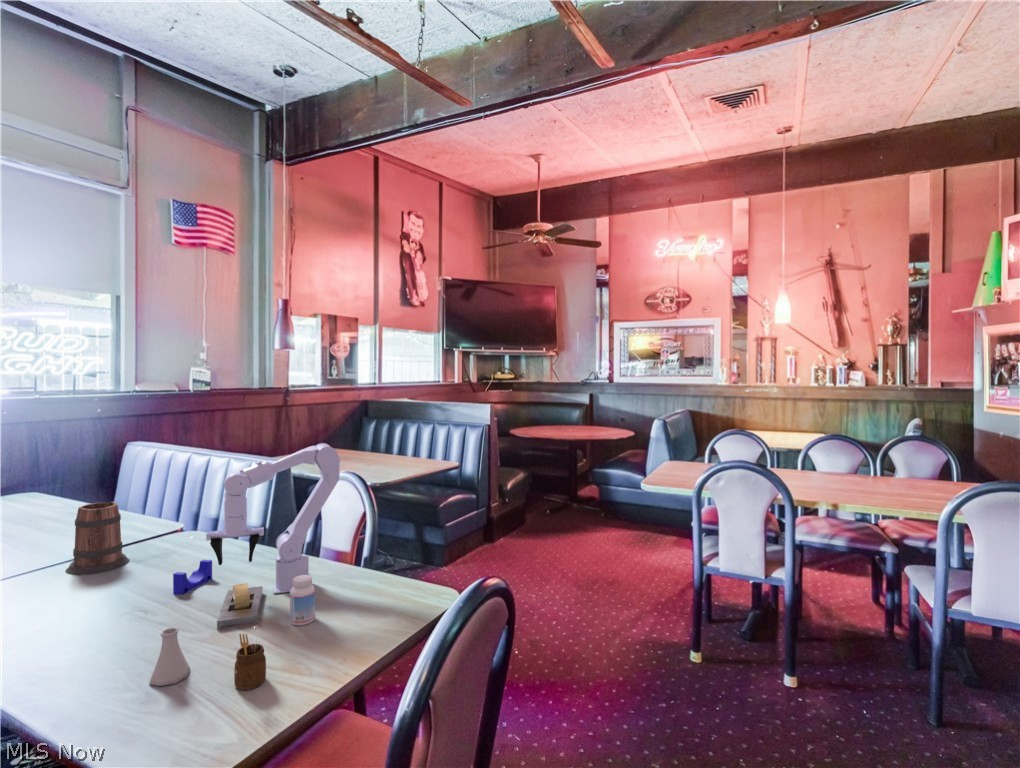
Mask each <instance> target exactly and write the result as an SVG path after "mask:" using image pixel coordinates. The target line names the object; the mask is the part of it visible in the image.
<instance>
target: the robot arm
mask: <svg viewBox="0 0 1020 768" xmlns="http://www.w3.org/2000/svg"><path fill="white" fill-rule="evenodd" d="M340 462H341V458H340V456H339V454H338V451H337V450H336V449H335V448H334V447H331V446H330V445H329V444H328V443H325V442H320V443H317V444H316V445H311V446H308V447H305V448H303V449H300V450H298V451H296V452H294V453H291V454H289V455H287V456H284V457H283V458H281V459H280V458H279V459H278V460H276V461H273V462H269V461H266V460H265V461H262V460H258V461H256V463H255V465H252V466H249V467H246V468H240V469H238V471H239V472H237V471H234V472H231V473H229V474H227V476H225V479H224V482H223V487H224V490H225V492H224V500H223V503H224V505H223V506H224V510H223V511H224V513H223V515H224V517H223V518H224V520H223V521H224V522H223V523H224V529H220V530H219V529H218V530H214V531H213V530H212V531H207V532H206V535H205V536H206V537H205V539H206V541H210V543H209V544H210V546H211V548H212V550H213V551H214V553H215V556H216V559H217V562H218V566H222V565H223V540H224V539H232V538H234V539H235V538H243V537H249V539H248V545H249V548H248V549H249V550H248V551H249V553H248V563H252V562H253V557H254V556H253V554H254V552H255V548H256V546H257V544H258V541H259V539H260V537H262V536H264V533H265V530H264V529H265V528H264V526H263V527H262V526H261V527H248V525H247V524H248V522H247V521H248V519H247V517H248V502H247V501H248V499H247V490H248V489H252V488H254V487H257V486H260V485H262V484H264V483H266V482H269V481H271V480H273V479H274V478H275V475H276V474H277V473H280V472H282V471H286V470H289V469H291V468H293V467H296V466H300V465H301V464H302V465H303V464H307V465H313V466H314V465H315V464H316V465H317V467H318V470H319V474H320V478H319V480H318V482H317V483H316V485H315V487H314V488H313V490H312V491H311V493H310V495H309V497H308V498H307V500H306V501H305V503H304V504H303V506H302V507H301V509H300V510H299V512H298V514H297V515H296V517H295V519H294V520H293V522H292V523H291V524H289V526H288V527H287V528H286V530H285V531H283V532H282V533H281V534H279V535H278V537H277V538H276V541H275V546H276V548H277V550H278V554H277V555H276V556H275V583H274V587H273V594H282V593H283V594H284V593H290V590H291V589H292V587H294V586H293V578H295V577H297V576H300V575H310V574H309V567H310V566H309V558H310V556H309V555H303V554H302V552H303V545H304V543H305V542H306V539H307V535H308V532H309V530H310V528H311V527H312V525H313V523H314V522H315V520H316V518H317V517H318V515H319V514H320V512H321V510H323V509H322V508H323V507H324V506H325V504H326V502H327V500H328V499H329V497H330V495H331V494H332V492H333V491H334V489H335V487H336V485H337V484H338V482H339V481H340ZM310 576H311V575H310Z"/></svg>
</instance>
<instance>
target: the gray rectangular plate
mask: <svg viewBox="0 0 1020 768" xmlns="http://www.w3.org/2000/svg"><path fill="white" fill-rule="evenodd" d="M263 588H264V587H263V586H262V585H261V586H253V587H248V589H249V592H250V609H245V610H237V611H234V602H233V589H227V592H226V595H225V597H224V601H223V604H222V606H221V609H220V612H219V615H218V617H217V620H216V630H223V629H231V628H238V627H244V626H252V625H257V623H258V618H259V614H260V608H261V603H262V599H263V591H264V589H263Z"/></svg>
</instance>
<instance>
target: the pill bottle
mask: <svg viewBox="0 0 1020 768" xmlns="http://www.w3.org/2000/svg"><path fill="white" fill-rule="evenodd" d="M312 582H313V577H312V576H311V575H300V576H297V577H295V578H293V586H294V587H292V589H291V590H290V592H289V622H290V624H291V625H293V626H305V625H309V624H310V623H312V622H313V621H314V620H315V618H316V606H315V605H316V587H315V586H314V585H313V584H312Z"/></svg>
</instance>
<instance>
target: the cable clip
mask: <svg viewBox="0 0 1020 768" xmlns="http://www.w3.org/2000/svg"><path fill="white" fill-rule="evenodd" d="M187 575H188V574H187V572H182V571H176V572H174V573H173V575H172V579H173V580H172V581H173V582H172V585H173V586H172V587H173V588H172V591H173V592H172V593H173V595H185V594H186V593H188V592H190V591H192V590H194V589H195V588H197V587H199V586H202V585H204V584H205V583H207V582H209V581H211V580H212V579H213V560H211V559H202V560H200V561H199V566H198V569H196V570H194V571H192V573H191V575H189V577H188V576H187Z"/></svg>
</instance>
